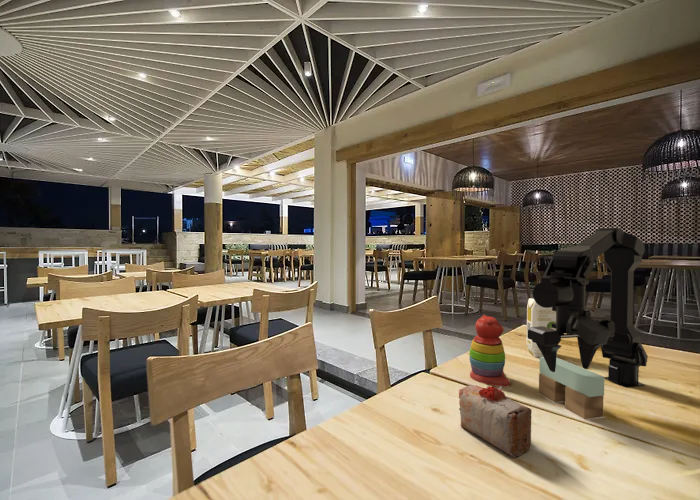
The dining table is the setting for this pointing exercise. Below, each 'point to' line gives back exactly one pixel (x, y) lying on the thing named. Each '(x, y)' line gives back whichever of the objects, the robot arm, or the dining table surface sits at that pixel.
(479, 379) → the stacking bear
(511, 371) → the dining table surface
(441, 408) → the dining table surface
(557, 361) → the beam
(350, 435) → the dining table surface
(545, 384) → the pillar
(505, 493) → the dining table surface
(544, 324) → the juice carton
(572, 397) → the pillar
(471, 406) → the food item
